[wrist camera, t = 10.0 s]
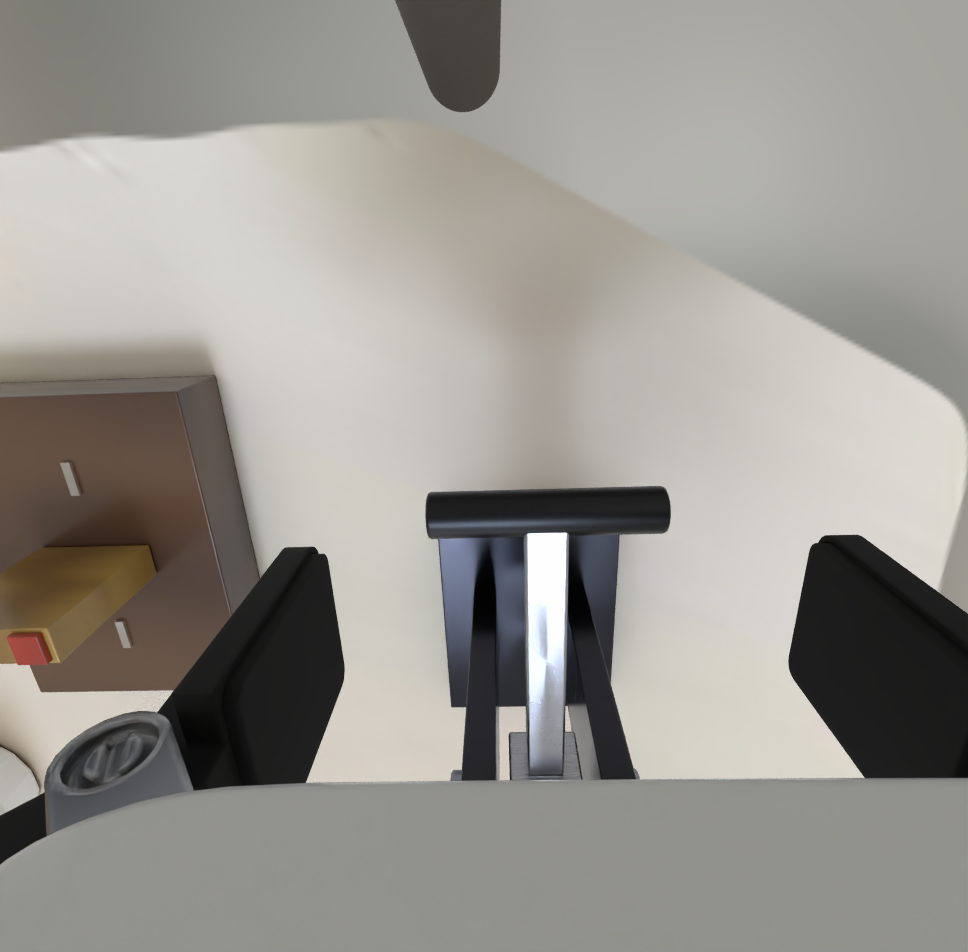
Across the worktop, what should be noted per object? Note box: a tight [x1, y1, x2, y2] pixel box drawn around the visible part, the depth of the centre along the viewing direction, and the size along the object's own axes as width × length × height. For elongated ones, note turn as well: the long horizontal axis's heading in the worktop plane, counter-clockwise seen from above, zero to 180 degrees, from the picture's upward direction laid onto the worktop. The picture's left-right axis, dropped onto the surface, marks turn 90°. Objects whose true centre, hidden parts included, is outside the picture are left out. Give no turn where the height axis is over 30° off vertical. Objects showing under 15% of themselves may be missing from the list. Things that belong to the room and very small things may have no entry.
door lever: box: [426, 486, 671, 780], centre depth 16 cm, size 12×6×2 cm, turn 2°
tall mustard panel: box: [0, 545, 157, 665], centre depth 20 cm, size 5×1×6 cm, turn 92°
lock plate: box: [0, 376, 260, 692], centre depth 24 cm, size 14×10×3 cm
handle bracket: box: [438, 535, 640, 781], centre depth 21 cm, size 10×8×12 cm
